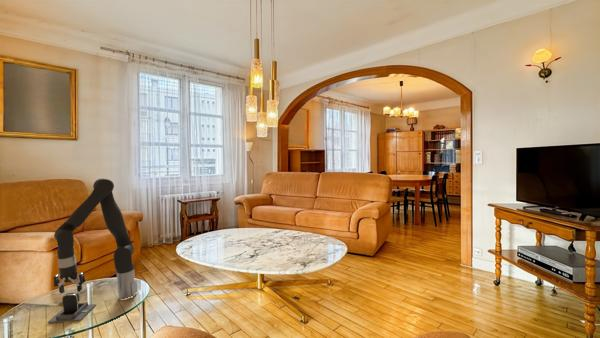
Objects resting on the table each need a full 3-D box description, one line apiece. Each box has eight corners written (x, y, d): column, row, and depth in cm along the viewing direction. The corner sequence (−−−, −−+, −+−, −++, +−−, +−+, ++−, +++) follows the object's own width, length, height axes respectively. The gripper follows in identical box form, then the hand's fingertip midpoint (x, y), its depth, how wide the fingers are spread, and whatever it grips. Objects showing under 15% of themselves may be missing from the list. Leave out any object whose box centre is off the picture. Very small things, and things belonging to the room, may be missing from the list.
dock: (95, 305, 166) (95, 300, 166) (80, 321, 152) (80, 315, 152) (66, 307, 164) (65, 302, 164) (47, 323, 150) (47, 318, 150)
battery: (81, 309, 160) (79, 291, 159) (77, 314, 157) (75, 294, 155) (67, 311, 159) (65, 292, 158) (63, 315, 156) (61, 296, 154)
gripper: (85, 260, 159) (89, 287, 161) (57, 262, 157) (61, 289, 159) (77, 266, 152) (80, 294, 154) (47, 268, 150) (51, 297, 152)
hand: (71, 291), depth 156 cm, fingers open, 8 cm apart
